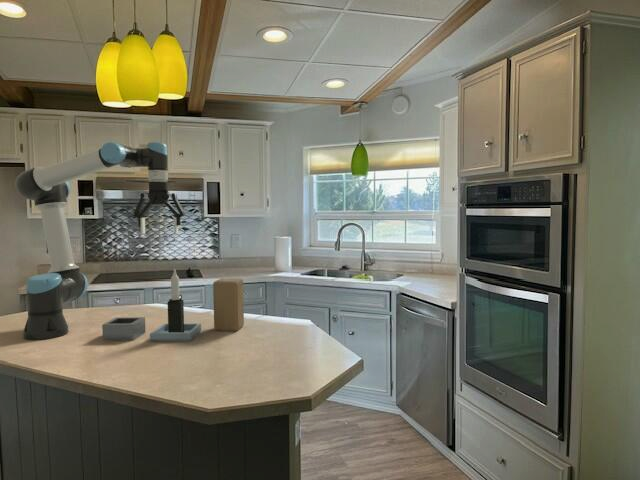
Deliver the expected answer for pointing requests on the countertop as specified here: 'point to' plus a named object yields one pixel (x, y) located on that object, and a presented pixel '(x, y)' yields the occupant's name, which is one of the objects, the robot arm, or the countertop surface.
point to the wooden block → (228, 304)
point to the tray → (188, 335)
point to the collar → (123, 328)
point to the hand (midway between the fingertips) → (159, 233)
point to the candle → (175, 307)
